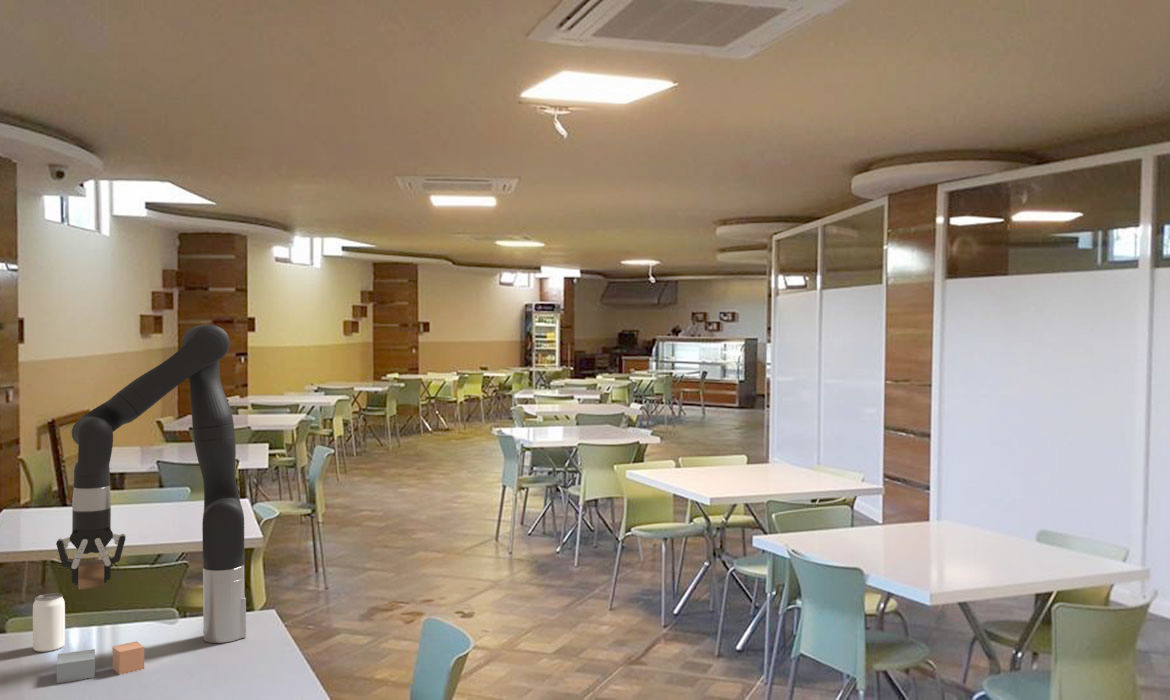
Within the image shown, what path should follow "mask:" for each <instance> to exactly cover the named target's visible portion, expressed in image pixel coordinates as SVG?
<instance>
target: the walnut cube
mask: <svg viewBox="0 0 1170 700" xmlns="http://www.w3.org/2000/svg"><path fill="white" fill-rule="evenodd" d="M104 565H105V564H104V561H103V559H95V560H93V559H92V560H82V561H81V560H80V562H79V564H78V589H77V590H84V589H85V590H86V589H93V588H94V589H97V588H104V587H105V583H104Z"/></svg>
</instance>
